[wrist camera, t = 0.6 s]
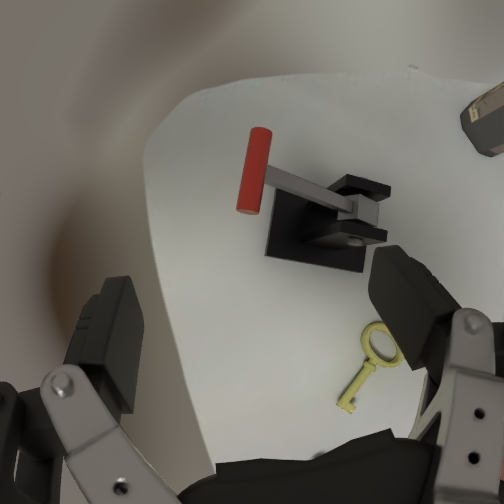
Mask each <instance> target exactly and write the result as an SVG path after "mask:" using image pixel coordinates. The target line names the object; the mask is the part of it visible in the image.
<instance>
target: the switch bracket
mask: <svg viewBox="0 0 504 504" xmlns="http://www.w3.org/2000/svg"><path fill="white" fill-rule="evenodd" d="M327 189H328V190H330V191H333V192H335V193H337V194H339V195H342V196H348V195H355V194H362V195H364V196H366V197H368V198H370V199H372V200H374V201H376V202H379V201H381V200H384V199H386V198H388V197H390V195H391V186H388V185H385V184H381V183H378V182H374V181H371V180H368V179H366V178H363V177H357V176H353V175H349V174H346V175H345V176H343V177H342V178H341V179H339V180H338V181H336V182H335V183H334V184H332V185H331V186H329V187H328V188H327ZM337 218H338V211H336V210H334V209H331V208H329V207H326V206H323V205H321V204H318V203H316V202H313V201H310V200H308V199H305V198H303V197H300V196H297V195H294V194H292V193H289V192H286V191H284V190H281V189H278V188H276V189H275V195H274V201H273V207H272V213H271V220H270V226H269V232H268V238H267V244H266V250H265V256H267V257H273V258H278V259H284V260H289V261H295V262H301V263H306V264H312V265H318V266H323V267H329V268H335V269H340V270H346V271H352V272H357V273H363V268H364V261H365V253H366V245H372V244H378V243H383V242H387V233H388V231H387V230H383V229H379V228H375V227H370V226H366V225H362V224H358V223H353V222H349V221H345V220H341V221H338V220H337Z"/></svg>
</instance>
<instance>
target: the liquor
mask: <svg viewBox="0 0 504 504" xmlns="http://www.w3.org/2000/svg"><path fill="white" fill-rule="evenodd" d="M460 118H461V123H462V129H463V131H464V132H465V134H466V135H467V136H468V138H469V139H470V141H471V142H472V144H473V145H474V147H475V148H476V150H477V151H478V152H479V153H481V154H484V155H486V156H489V157H493V156H495V155H498V154H500V153H503V152H504V82H502V83H501V84H499V85H498V86H496V87H494V88H493V89H491V90H490V91H488V92H487V93H485V94H483V95H482V96H480V97H479V98H477V99H476V100H474V101H473V102H471V104H470V105H469V106H468V107H467V108H466V109H465V110H464V111H463V112H462V114H461V117H460Z"/></svg>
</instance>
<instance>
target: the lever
mask: <svg viewBox="0 0 504 504" xmlns="http://www.w3.org/2000/svg"><path fill="white" fill-rule="evenodd" d="M271 140H272V132H271V131H270V130H268V129H266V128H262V127H255V128H252V129H251V132H250V137H249V142H248V147H247V153H246V158H245V163H244V168H243V174H242V179H241V184H240V190H239V195H238V200H237V206H236V211H238V212H240V213H244V214H249V215H257V214H259V211H260V205H261V199H262V193H263V187H264V184H267V185H270V186H273V187H275V188H278V189H281V190H284V191H286V192H289V193H292V194H294V195H297V196H300V197H303V198H305V199H308V200H310V201H313V202H316V203H318V204H321V205H323V206H326V207H329V208H331V209H334V210H336V211H338V218H337V220H338V221H341V220H345V221H349V222H353V223H358V224H362V225H366V226H370V227H377V220H378V209H379V203H378V202H376V201H374V200H372V199H370V198H368V197H366V196H364V195H362V194H355V195H348V196H342V195H339V194H337V193H335V192H333V191H330V190H328V189H326V188H323V187H321V186H319V185H316V184H314V183H312V182H309V181H307V180H304V179H302V178H300V177H297V176H295V175H292V174H290V173H287V172H285V171H282V170H280V169H277V168H275V167H272V166H270V165H267V163H268V158H269V152H270V146H271Z"/></svg>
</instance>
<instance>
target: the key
mask: <svg viewBox="0 0 504 504" xmlns="http://www.w3.org/2000/svg"><path fill="white" fill-rule="evenodd" d="M373 330H380V331H383V332H385V333H387V334H388V335H389V336H390V337H391V338H392V339H393V340H394V338H393V337H392V335H391V333H390V332H389V330H388V328H387V327H386V325H385V324H384V323H373V324H370V325H368V326H367V327H366V328H365V329H364V331H363V332H362V335H361V344H362V348H363V350H364V352H365V353H366V354H367V356H368V357H369V358H370V359H369V360H368V362H367V361H364V363H363V365H364V368H363V369H362V370H361V372H360V373H359V374H358V376H357V377H356V379H355V380H354V381H353V383H352V384H351V385H350V387H349V388H348V389H347V391H346V392H345V393H344V395H343V396H342V397H341V398H340V400H339V401H338V402H337V404H336V405H337V406H338V407H340V408H341V409H344V410H346V411H347V412H348V413H350V414H352V412H351V410H352V411H353V410H355V409H356V407H355V406H354V405H352V404H351V403H350V402H349V401H350V400H351V399H352V398H353V396H354V395H355V394H356V392H357V391H358V389H359V388H360V387H361V385H362V384H363V383H364V381H365V380H366V379H367V377H368V376H369V374H370V373H371V371H373V372H374V371H376V367H375V366H376V364H378V365H380V366H382V367H388V368H393V367H396V366H398V365H399V364H400V363H401V361H402V360H403V358H404V355H403V354H402V352H401V350H400V349H399V347H398V345H397V343H396V342H395V340H394V342H395V345H396V348H397V354H396V357H395V358H394V359H393V360H392V361H391V362H386V361H383V360H382V359H380V358H379V357H378V356H377V355H376V354H375V353H374V352H373V350H372V349H371V346H370V344H369V337H370V334H371V332H372V331H373Z"/></svg>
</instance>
